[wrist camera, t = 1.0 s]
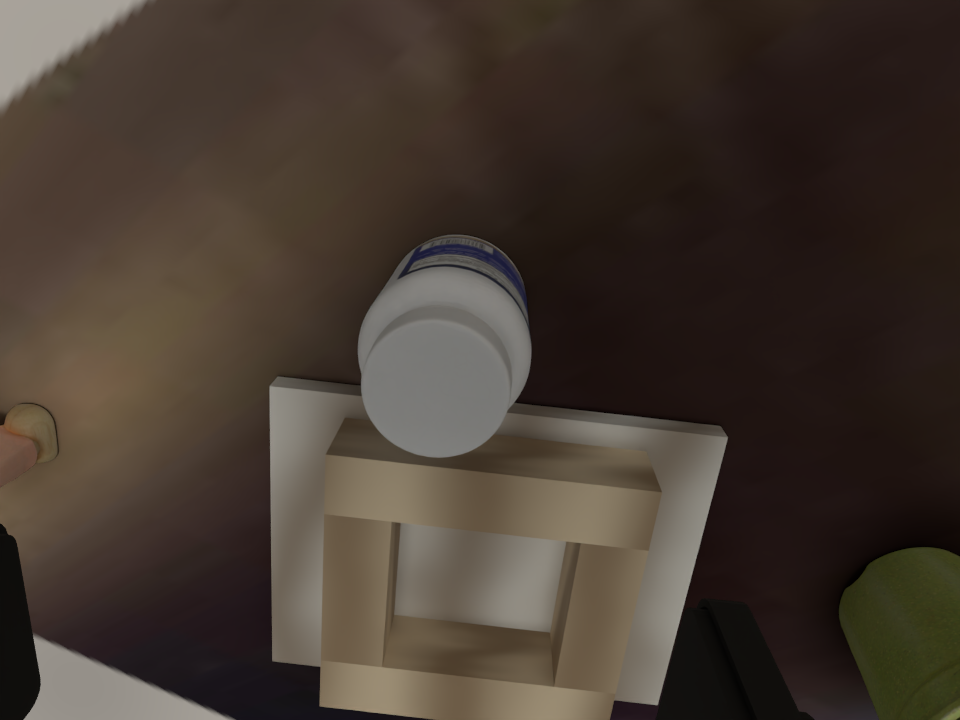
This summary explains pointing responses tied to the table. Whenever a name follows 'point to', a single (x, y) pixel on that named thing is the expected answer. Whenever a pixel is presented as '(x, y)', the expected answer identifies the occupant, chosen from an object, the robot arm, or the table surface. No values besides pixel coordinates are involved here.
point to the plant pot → (907, 633)
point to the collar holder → (483, 557)
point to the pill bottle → (445, 347)
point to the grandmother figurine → (25, 440)
